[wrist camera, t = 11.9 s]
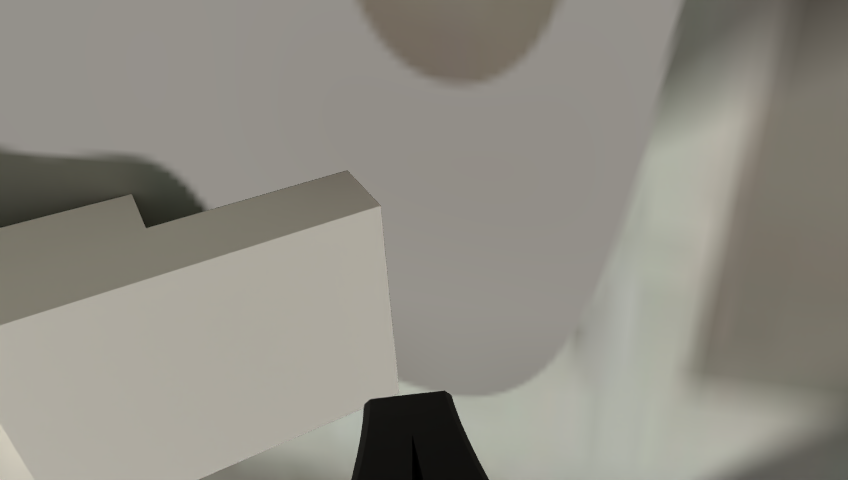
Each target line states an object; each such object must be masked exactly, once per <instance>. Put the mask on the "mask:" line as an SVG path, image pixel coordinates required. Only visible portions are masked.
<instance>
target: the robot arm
mask: <svg viewBox="0 0 848 480" xmlns="http://www.w3.org/2000/svg"><path fill="white" fill-rule="evenodd" d="M351 480H489V479H488V477H487V475H486V473H485V471H484V470H483V468H482V466H481V464H480V462H479V460H478V458H477V456H476V454H475V452H474V450H473V448H472V446H471V444H470V442H469V439H468V437H467V435H466V433H465V431H464V428H463V426H462V424H461V421H460V419H459V416H458V413H457V411H456V408H455V405H454V402H453V399H452V396H451V395H450V394H449V393H447V392H446V391H438V392H429V393H420V394H411V395H402V396H393V397H384V398H375V399H370V400H369V401H368V402H366V403H365V404H364V413H363V424H362V431H361V437H360V443H359V448H358V453H357V458H356V462H355V467H354V471H353V475H352V479H351Z"/></svg>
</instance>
